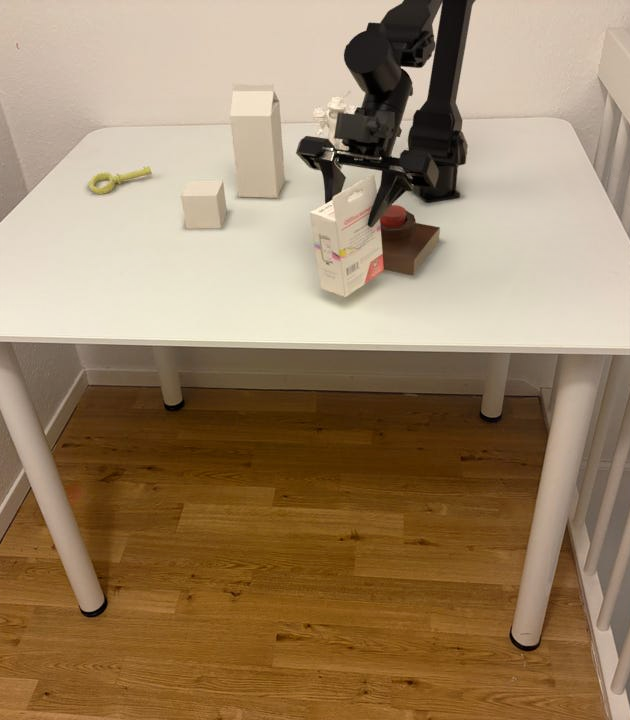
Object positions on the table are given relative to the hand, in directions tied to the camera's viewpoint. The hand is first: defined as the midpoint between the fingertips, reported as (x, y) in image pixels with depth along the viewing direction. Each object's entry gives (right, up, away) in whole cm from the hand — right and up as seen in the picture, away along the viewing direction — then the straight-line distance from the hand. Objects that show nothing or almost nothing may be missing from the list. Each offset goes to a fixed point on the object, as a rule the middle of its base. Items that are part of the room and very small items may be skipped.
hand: (348, 222), depth 97 cm
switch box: (+7, -1, +16) cm, 18 cm away
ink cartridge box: (+1, -7, +5) cm, 9 cm away
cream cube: (-22, +6, +29) cm, 36 cm away
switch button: (+8, +3, +15) cm, 17 cm away
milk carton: (-13, +13, +37) cm, 41 cm away
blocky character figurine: (+2, +23, +48) cm, 53 cm away
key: (-41, +16, +43) cm, 61 cm away
